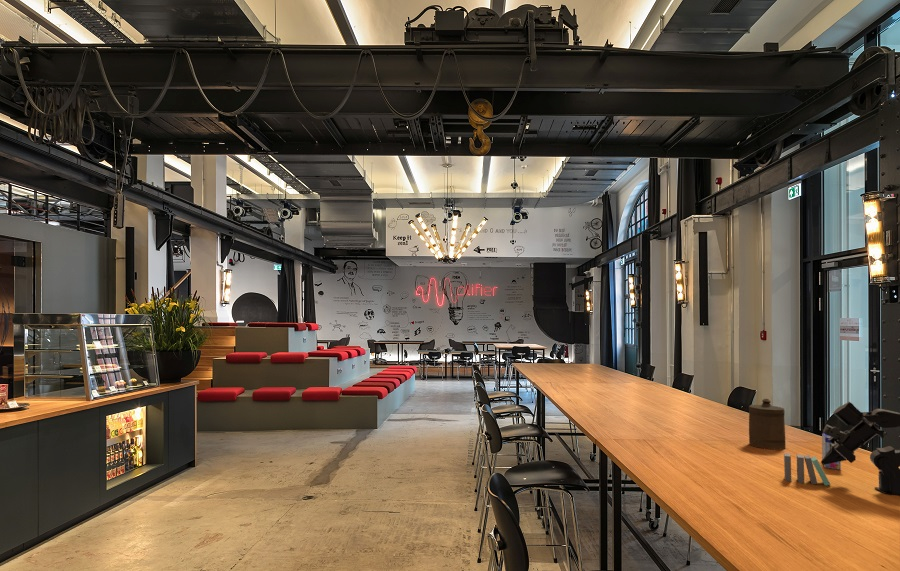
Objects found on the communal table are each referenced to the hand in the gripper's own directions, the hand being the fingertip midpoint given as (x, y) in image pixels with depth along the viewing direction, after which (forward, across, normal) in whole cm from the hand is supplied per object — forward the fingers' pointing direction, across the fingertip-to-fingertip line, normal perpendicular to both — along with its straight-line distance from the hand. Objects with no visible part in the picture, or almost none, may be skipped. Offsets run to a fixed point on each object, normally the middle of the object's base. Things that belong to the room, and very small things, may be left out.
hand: (821, 463), depth 197 cm
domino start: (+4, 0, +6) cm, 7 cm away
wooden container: (+16, -61, -5) cm, 63 cm away
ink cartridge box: (0, -32, +10) cm, 33 cm away
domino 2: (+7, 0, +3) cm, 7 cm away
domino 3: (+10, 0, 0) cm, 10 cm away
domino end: (+13, 0, -2) cm, 13 cm away
